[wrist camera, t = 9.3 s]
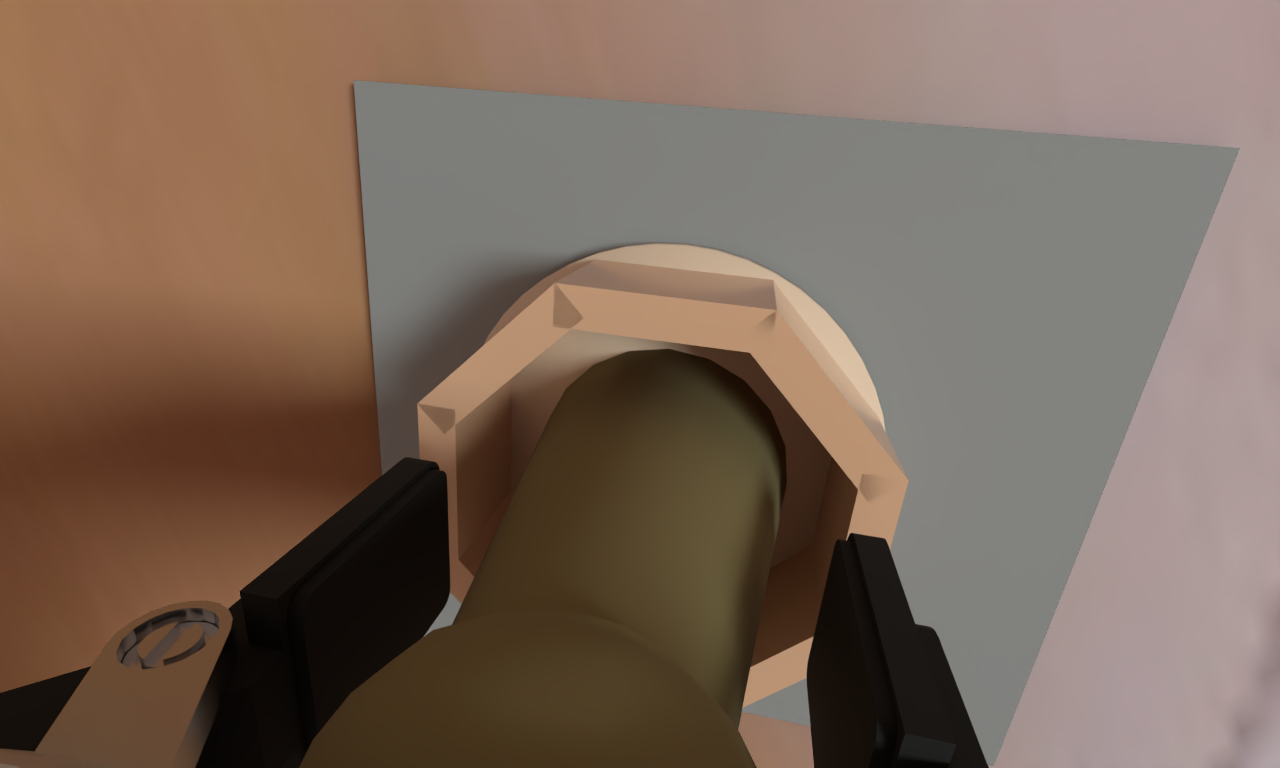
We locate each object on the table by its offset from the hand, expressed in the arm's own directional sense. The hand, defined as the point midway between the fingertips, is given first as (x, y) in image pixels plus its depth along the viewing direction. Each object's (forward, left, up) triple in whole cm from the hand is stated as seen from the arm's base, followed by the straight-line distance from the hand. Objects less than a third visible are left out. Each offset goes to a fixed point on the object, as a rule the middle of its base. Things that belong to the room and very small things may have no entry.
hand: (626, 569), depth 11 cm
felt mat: (0, -1, -5) cm, 5 cm away
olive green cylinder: (0, 0, -5) cm, 5 cm away
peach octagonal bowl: (0, 0, -5) cm, 5 cm away
